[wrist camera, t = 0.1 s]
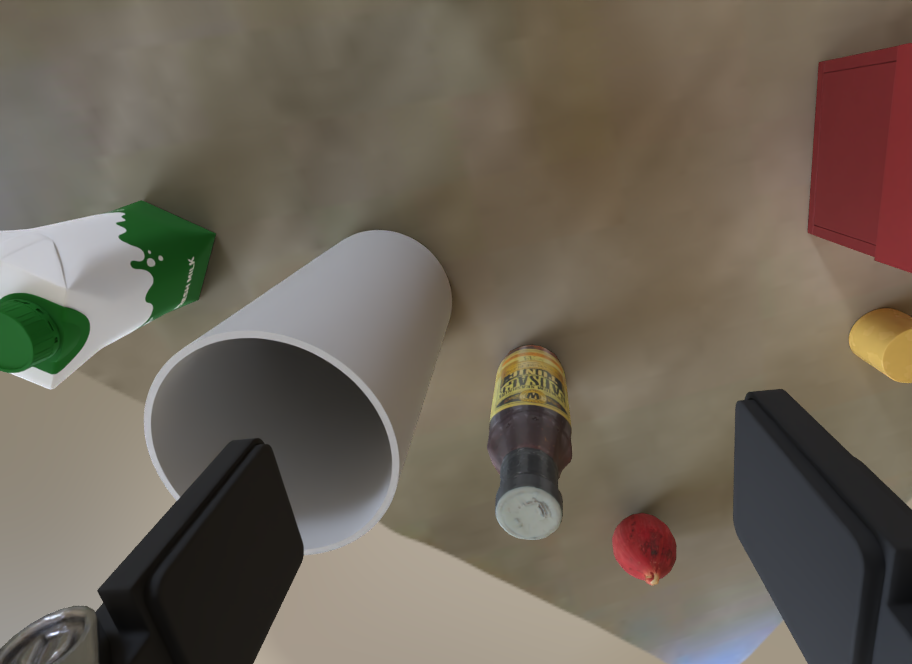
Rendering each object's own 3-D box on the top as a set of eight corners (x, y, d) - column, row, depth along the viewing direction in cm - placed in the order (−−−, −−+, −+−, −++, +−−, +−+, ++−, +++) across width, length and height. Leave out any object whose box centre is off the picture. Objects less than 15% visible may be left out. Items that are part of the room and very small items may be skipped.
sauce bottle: (567, 343, 49) (601, 477, 30) (559, 404, 51) (585, 562, 32) (495, 337, 49) (486, 465, 31) (490, 397, 51) (478, 550, 33)
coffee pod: (851, 311, 45) (885, 330, 41) (914, 304, 44) (955, 323, 40) (846, 362, 47) (878, 386, 43) (906, 356, 46) (946, 379, 42)
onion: (616, 491, 54) (633, 549, 46) (672, 503, 54) (698, 563, 46) (600, 535, 56) (613, 598, 49) (654, 547, 56) (676, 611, 48)
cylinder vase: (478, 320, 49) (449, 498, 25) (369, 380, 52) (255, 586, 29) (402, 200, 45) (290, 279, 22) (291, 273, 49) (91, 407, 25)
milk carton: (205, 311, 51) (31, 418, 32) (115, 272, 50) (-115, 357, 32) (228, 228, 48) (49, 293, 29) (132, 185, 47) (-113, 223, 29)
